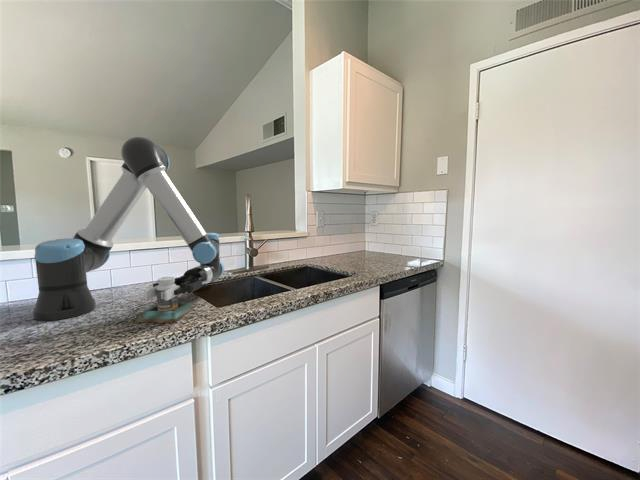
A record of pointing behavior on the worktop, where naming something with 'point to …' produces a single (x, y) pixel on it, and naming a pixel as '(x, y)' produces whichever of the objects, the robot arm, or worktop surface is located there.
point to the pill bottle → (163, 286)
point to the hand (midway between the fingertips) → (155, 295)
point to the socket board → (165, 313)
